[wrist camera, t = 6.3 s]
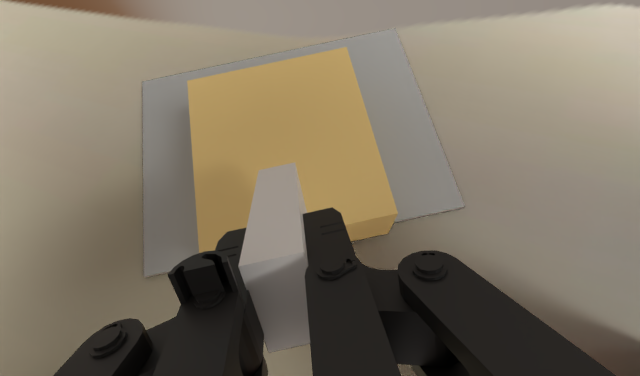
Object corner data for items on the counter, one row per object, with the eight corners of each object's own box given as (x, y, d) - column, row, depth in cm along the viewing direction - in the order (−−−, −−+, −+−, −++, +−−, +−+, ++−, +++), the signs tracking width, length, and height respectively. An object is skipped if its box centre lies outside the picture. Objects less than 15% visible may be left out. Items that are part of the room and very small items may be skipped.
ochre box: (388, 233, 21) (346, 88, 25) (398, 213, 17) (346, 46, 21) (225, 269, 20) (210, 117, 25) (199, 256, 17) (187, 80, 21)
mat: (394, 31, 27) (395, 27, 26) (463, 207, 21) (465, 206, 21) (144, 84, 26) (142, 81, 26) (146, 277, 21) (143, 276, 21)
